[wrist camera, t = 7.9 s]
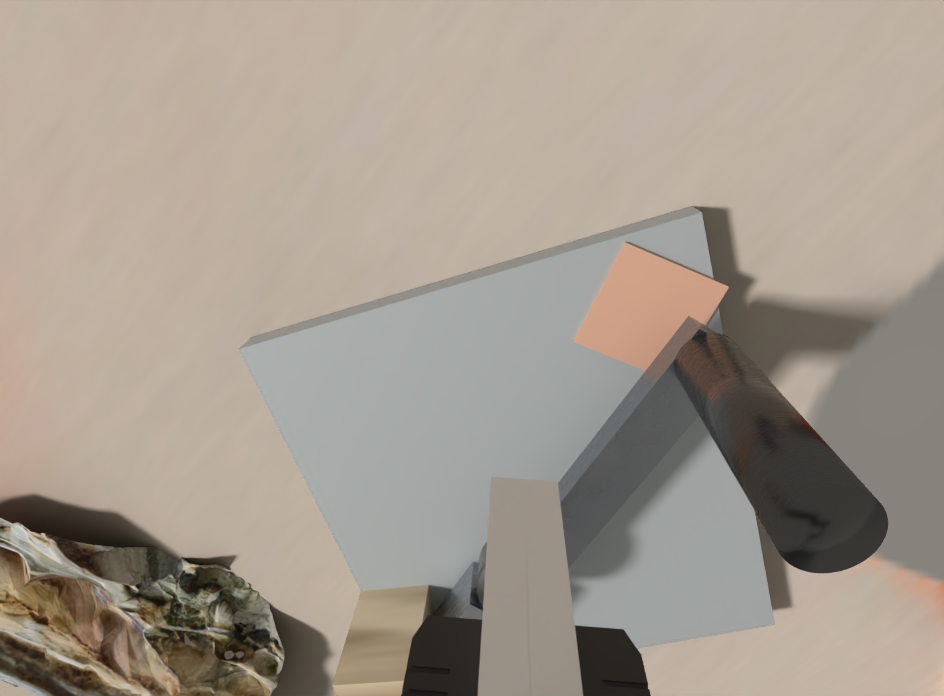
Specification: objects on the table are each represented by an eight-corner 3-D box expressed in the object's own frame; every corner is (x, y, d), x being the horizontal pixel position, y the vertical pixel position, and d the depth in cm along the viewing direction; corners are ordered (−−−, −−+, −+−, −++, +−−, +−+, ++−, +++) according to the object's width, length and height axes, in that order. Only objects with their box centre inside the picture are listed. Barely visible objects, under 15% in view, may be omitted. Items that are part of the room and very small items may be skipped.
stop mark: (670, 379, 28) (671, 381, 28) (573, 340, 27) (573, 342, 27) (727, 285, 26) (729, 287, 26) (624, 241, 26) (625, 242, 25)
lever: (490, 640, 35) (479, 929, 23) (424, 609, 34) (375, 888, 22) (746, 336, 26) (940, 535, 14) (664, 286, 26) (797, 452, 14)
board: (764, 603, 35) (774, 624, 33) (413, 666, 39) (409, 687, 37) (691, 206, 26) (701, 212, 25) (251, 337, 30) (238, 349, 29)
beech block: (442, 636, 35) (429, 736, 30) (377, 641, 36) (352, 740, 30) (428, 584, 34) (412, 680, 28) (361, 590, 34) (332, 685, 29)
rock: (252, 685, 45) (328, 578, 38) (221, 792, 39) (304, 690, 32) (-94, 597, 39) (-79, 448, 32) (-192, 711, 33) (-201, 560, 26)
